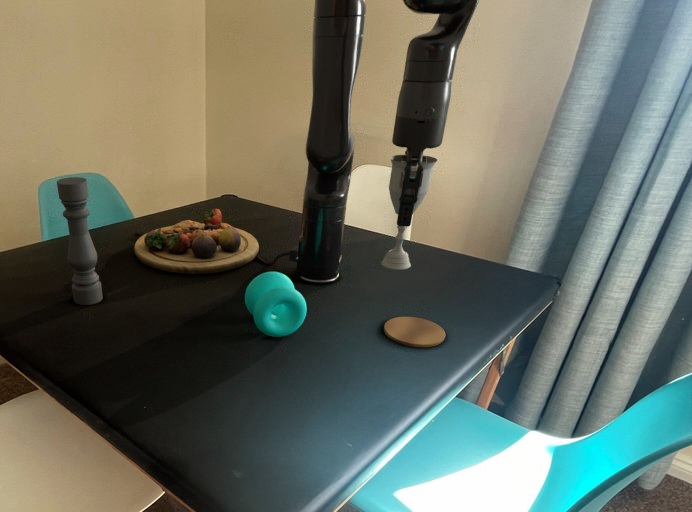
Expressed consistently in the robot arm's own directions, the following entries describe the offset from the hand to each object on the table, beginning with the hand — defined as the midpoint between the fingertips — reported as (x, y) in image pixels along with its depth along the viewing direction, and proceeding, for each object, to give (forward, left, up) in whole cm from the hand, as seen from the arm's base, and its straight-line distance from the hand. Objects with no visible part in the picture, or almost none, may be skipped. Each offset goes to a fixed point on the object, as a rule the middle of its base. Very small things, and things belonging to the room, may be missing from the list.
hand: (403, 219), depth 94 cm
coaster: (+5, +1, -22) cm, 22 cm away
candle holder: (-62, -2, -22) cm, 65 cm away
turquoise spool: (-21, -4, -22) cm, 30 cm away
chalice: (0, 0, -8) cm, 8 cm away
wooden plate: (-48, +31, -22) cm, 61 cm away
